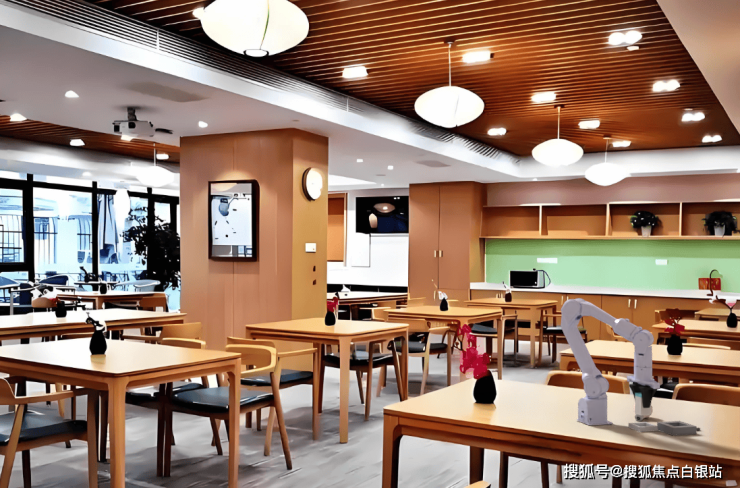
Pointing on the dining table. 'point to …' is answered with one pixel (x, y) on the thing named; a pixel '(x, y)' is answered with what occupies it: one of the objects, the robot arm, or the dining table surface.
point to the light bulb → (639, 417)
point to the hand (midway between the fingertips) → (642, 406)
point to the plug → (641, 406)
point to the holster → (643, 426)
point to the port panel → (677, 428)
